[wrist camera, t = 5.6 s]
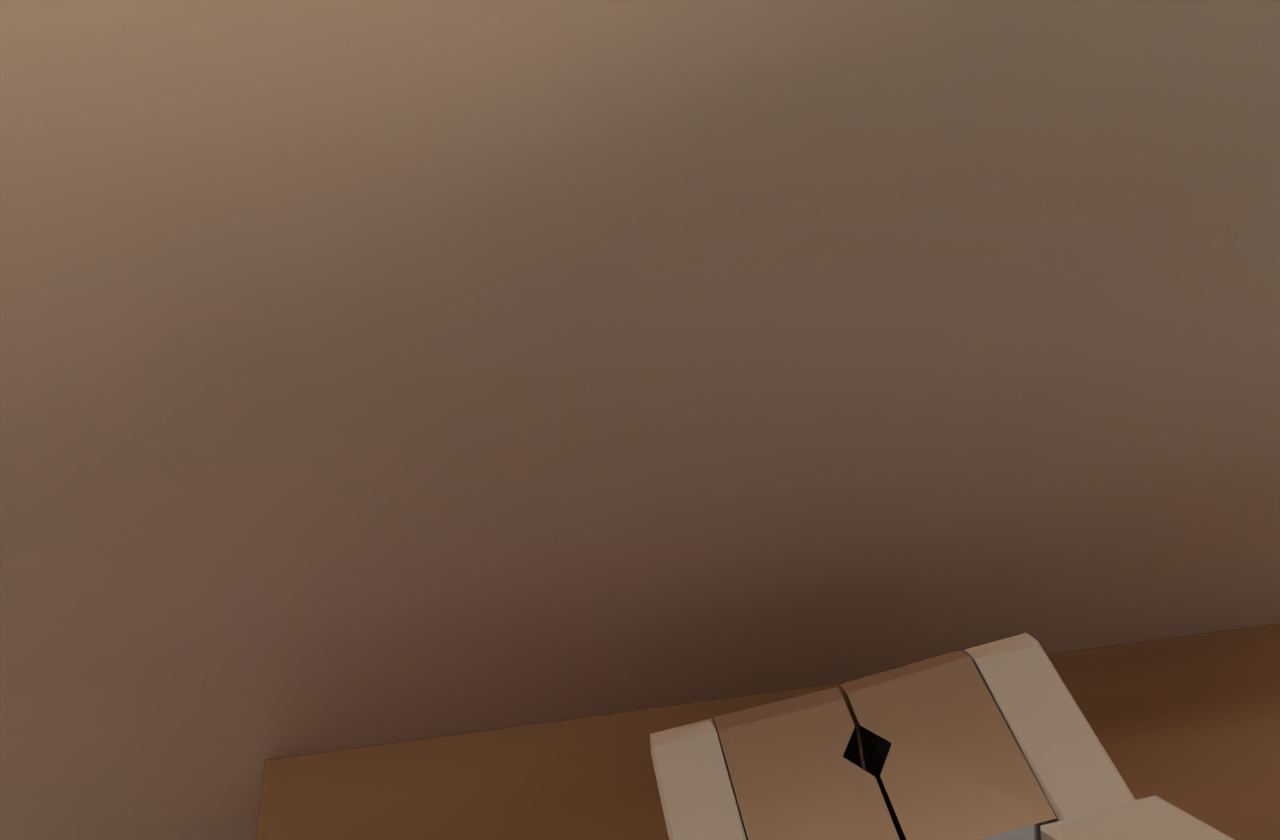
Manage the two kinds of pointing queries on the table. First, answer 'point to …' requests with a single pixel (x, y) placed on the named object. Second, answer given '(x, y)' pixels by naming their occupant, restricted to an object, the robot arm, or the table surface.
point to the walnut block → (620, 742)
